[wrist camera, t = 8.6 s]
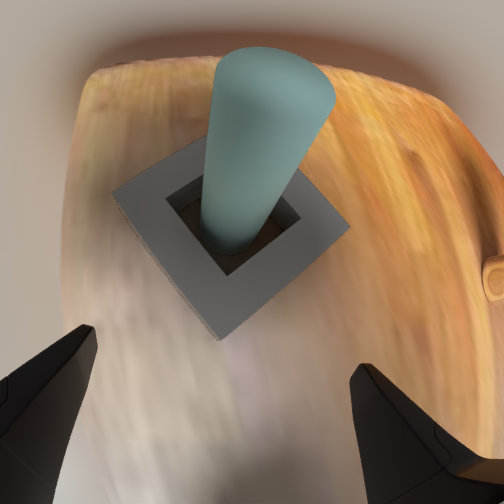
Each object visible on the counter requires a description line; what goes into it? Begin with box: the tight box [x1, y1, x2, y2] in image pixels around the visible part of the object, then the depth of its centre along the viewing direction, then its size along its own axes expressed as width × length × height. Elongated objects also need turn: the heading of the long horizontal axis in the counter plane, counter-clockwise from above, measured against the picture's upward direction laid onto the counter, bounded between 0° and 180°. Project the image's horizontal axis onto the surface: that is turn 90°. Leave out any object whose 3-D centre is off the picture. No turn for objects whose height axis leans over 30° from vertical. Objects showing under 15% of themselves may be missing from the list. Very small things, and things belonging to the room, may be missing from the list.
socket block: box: [112, 135, 350, 340], centre depth 19 cm, size 11×11×3 cm
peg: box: [200, 47, 336, 255], centre depth 14 cm, size 4×4×13 cm
